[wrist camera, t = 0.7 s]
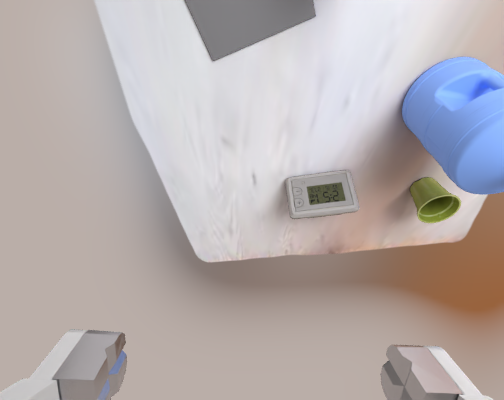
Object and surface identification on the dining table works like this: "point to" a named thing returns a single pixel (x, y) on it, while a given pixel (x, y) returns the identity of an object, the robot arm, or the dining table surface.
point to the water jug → (461, 121)
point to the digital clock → (321, 194)
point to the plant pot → (433, 201)
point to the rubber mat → (245, 21)
